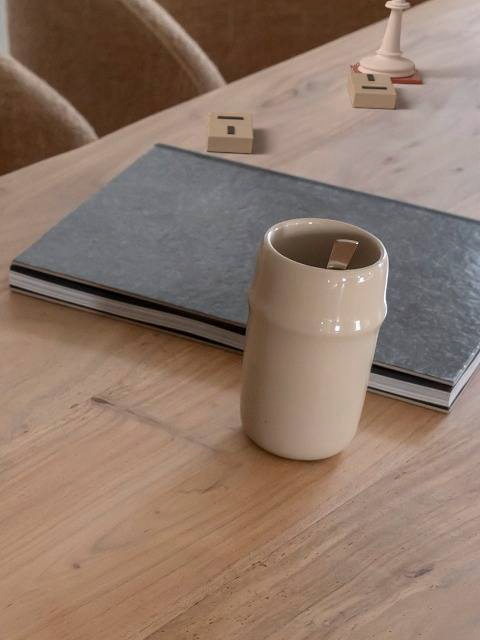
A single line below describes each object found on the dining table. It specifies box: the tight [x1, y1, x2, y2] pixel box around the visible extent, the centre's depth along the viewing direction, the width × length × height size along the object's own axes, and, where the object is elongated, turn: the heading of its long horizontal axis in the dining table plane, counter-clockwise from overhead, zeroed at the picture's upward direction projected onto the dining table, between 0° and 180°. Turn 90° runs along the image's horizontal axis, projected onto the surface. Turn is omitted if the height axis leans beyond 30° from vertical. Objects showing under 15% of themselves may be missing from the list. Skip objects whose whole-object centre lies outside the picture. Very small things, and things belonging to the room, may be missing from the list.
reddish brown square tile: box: [352, 62, 422, 85], centre depth 132 cm, size 6×6×1 cm
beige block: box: [346, 72, 398, 110], centre depth 125 cm, size 3×7×1 cm, turn 169°
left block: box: [206, 111, 254, 154], centre depth 115 cm, size 3×7×1 cm, turn 169°
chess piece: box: [358, 0, 416, 78], centre depth 129 cm, size 5×5×10 cm
